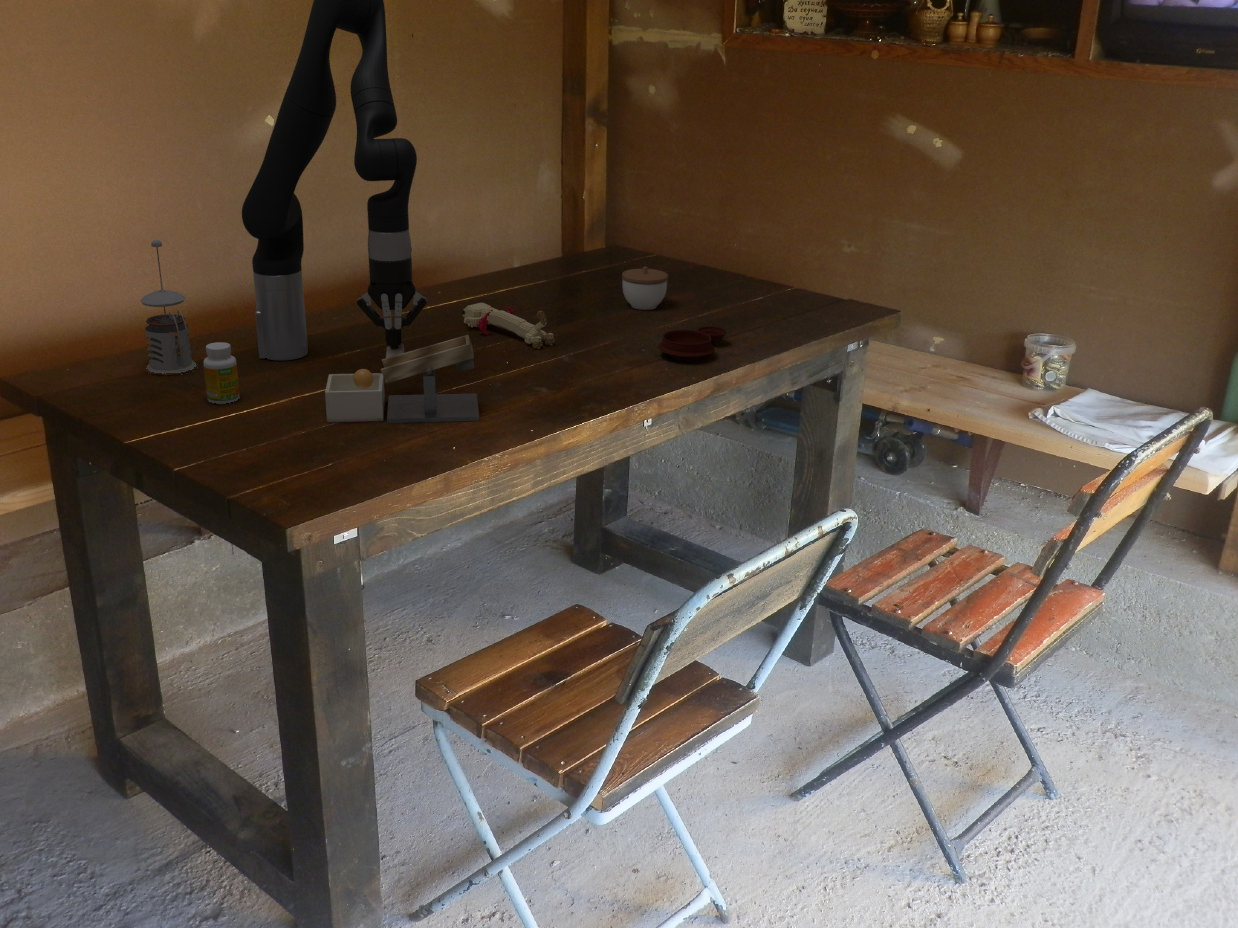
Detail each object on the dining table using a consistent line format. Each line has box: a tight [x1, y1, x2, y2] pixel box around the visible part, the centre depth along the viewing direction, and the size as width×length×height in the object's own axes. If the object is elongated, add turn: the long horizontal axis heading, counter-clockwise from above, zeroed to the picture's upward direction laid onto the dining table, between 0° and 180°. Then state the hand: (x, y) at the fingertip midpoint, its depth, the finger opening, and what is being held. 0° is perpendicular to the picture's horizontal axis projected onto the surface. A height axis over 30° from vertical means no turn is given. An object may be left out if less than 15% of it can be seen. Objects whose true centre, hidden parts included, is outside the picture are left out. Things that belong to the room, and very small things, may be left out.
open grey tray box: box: [324, 372, 386, 423], centre depth 213 cm, size 10×10×6 cm
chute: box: [380, 334, 475, 384], centre depth 216 cm, size 16×15×4 cm
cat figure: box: [461, 302, 556, 350], centre depth 258 cm, size 10×9×25 cm
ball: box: [353, 368, 373, 389], centre depth 212 cm, size 4×4×4 cm
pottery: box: [657, 326, 728, 362], centre depth 252 cm, size 12×20×4 cm, turn 148°
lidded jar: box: [621, 266, 669, 311], centre depth 281 cm, size 11×11×9 cm
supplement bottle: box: [203, 342, 241, 405], centre depth 216 cm, size 6×6×10 cm
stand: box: [386, 369, 480, 424], centre depth 215 cm, size 16×12×8 cm
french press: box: [140, 239, 198, 374], centre depth 228 cm, size 10×12×25 cm
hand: (394, 347), depth 220 cm, fingers closed
